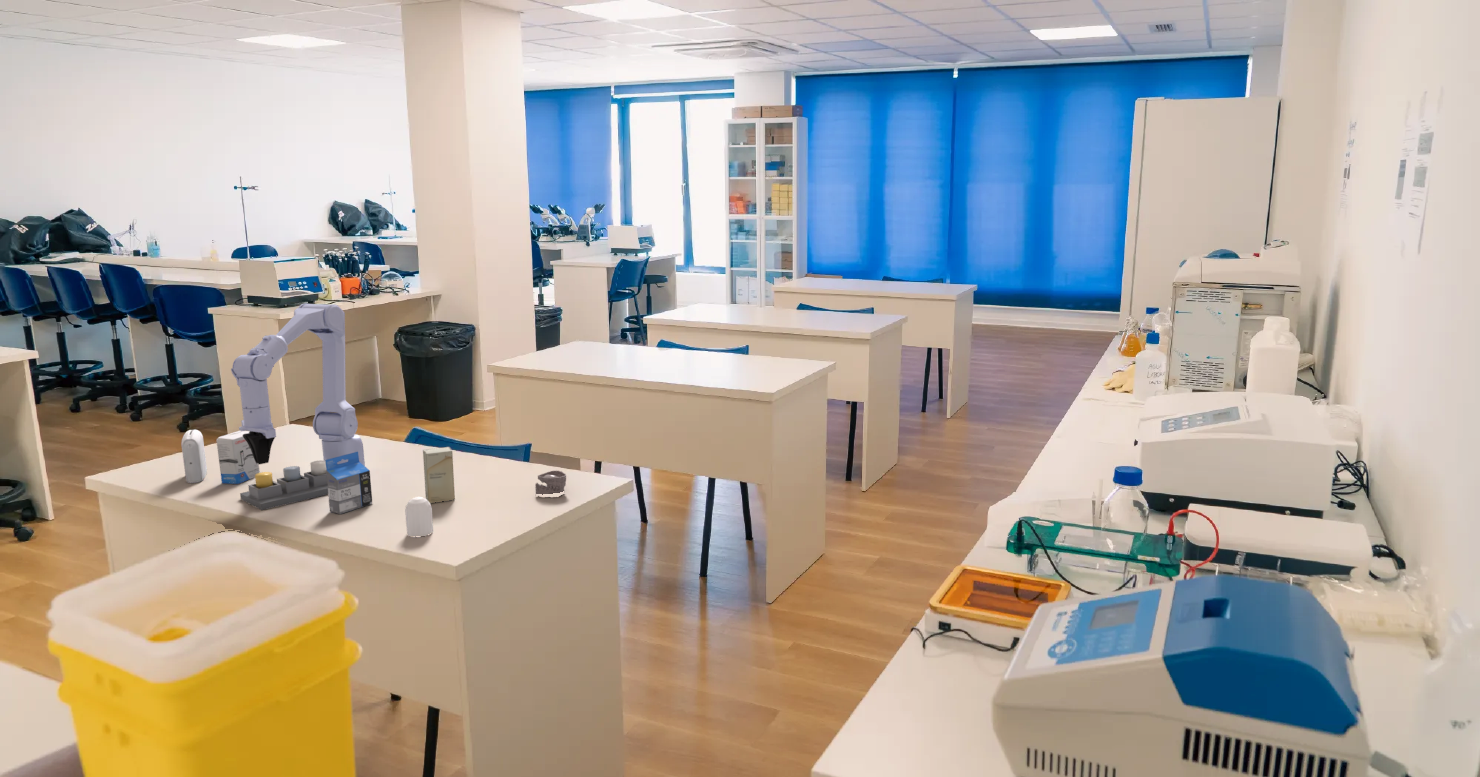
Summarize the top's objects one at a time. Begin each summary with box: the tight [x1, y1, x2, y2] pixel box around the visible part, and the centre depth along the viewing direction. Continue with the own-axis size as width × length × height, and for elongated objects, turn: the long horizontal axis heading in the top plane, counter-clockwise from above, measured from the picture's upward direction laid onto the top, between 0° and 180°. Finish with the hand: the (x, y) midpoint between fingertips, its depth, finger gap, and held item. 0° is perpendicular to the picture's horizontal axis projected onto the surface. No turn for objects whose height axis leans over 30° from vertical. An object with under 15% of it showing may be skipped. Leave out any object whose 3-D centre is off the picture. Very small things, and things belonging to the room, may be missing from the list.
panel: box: [239, 471, 328, 511], centre depth 229 cm, size 20×12×4 cm, turn 138°
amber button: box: [254, 471, 274, 488], centre depth 224 cm, size 4×4×3 cm
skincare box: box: [422, 446, 456, 504], centre depth 224 cm, size 6×4×12 cm
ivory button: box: [309, 460, 327, 476], centre depth 233 cm, size 4×4×3 cm
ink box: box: [216, 430, 261, 485], centre depth 241 cm, size 9×5×12 cm, turn 168°
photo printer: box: [181, 429, 208, 484], centre depth 242 cm, size 10×4×12 cm, turn 23°
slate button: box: [282, 465, 302, 482], centre depth 228 cm, size 4×4×3 cm
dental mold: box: [534, 470, 567, 495], centre depth 229 cm, size 8×7×5 cm
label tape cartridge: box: [325, 451, 373, 515], centre depth 218 cm, size 9×4×12 cm, turn 148°
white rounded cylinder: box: [404, 496, 434, 538], centre depth 203 cm, size 5×5×8 cm
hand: (262, 462), depth 223 cm, fingers closed
